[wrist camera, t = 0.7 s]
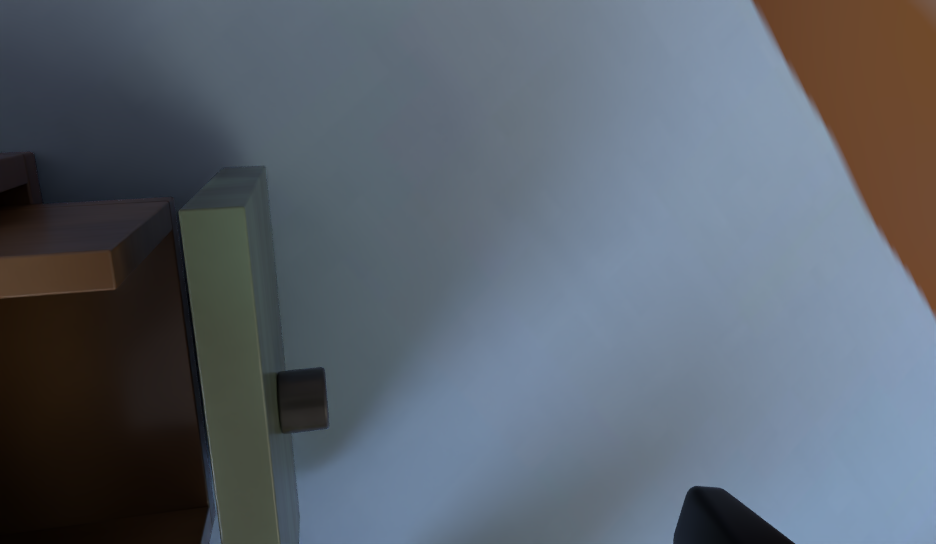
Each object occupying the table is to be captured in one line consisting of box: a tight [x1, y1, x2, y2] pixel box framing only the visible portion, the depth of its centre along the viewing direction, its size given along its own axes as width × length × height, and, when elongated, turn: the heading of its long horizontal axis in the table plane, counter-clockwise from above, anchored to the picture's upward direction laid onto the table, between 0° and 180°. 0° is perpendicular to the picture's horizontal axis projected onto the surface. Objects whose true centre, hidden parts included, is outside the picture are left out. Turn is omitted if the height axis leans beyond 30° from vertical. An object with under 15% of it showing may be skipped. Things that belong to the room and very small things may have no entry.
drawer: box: [0, 166, 329, 544], centre depth 17 cm, size 15×11×7 cm
